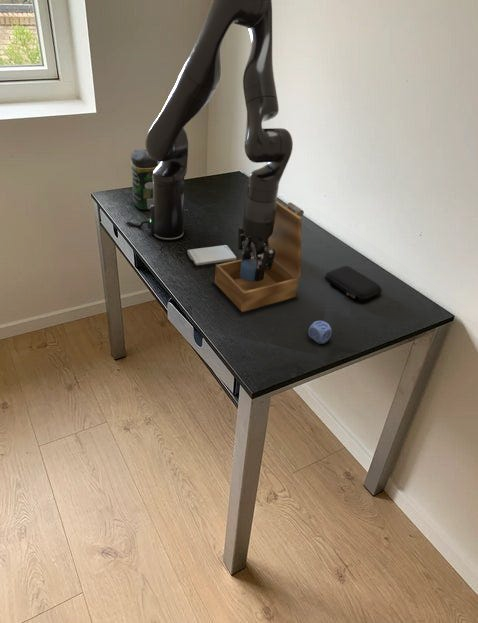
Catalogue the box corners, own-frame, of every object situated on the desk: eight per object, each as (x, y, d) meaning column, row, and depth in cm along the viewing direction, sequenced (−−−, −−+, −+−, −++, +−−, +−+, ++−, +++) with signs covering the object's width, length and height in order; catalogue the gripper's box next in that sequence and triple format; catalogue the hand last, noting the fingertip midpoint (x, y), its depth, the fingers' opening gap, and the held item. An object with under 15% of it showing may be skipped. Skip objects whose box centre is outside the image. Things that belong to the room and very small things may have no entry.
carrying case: (318, 280, 137) (357, 306, 128) (320, 271, 135) (360, 297, 126) (344, 271, 142) (383, 295, 133) (346, 262, 141) (386, 286, 132)
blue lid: (237, 278, 124) (238, 267, 122) (243, 267, 129) (244, 256, 126) (259, 284, 123) (261, 272, 121) (264, 272, 128) (266, 261, 126)
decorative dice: (317, 331, 118) (320, 318, 115) (330, 340, 115) (333, 326, 113) (306, 337, 115) (309, 324, 113) (319, 346, 113) (322, 332, 111)
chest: (241, 314, 121) (244, 293, 117) (214, 285, 131) (215, 264, 127) (295, 299, 128) (298, 279, 125) (265, 272, 138) (268, 253, 134)
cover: (298, 218, 113) (316, 212, 115) (265, 195, 123) (281, 189, 124) (297, 278, 124) (313, 271, 126) (267, 252, 134) (281, 246, 136)
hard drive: (226, 244, 147) (187, 248, 142) (236, 257, 141) (196, 262, 136) (226, 249, 147) (187, 253, 143) (236, 262, 142) (196, 267, 137)
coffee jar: (130, 201, 170) (127, 148, 159) (151, 198, 173) (150, 146, 162) (139, 212, 163) (137, 158, 152) (161, 209, 166) (160, 156, 155)
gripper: (231, 204, 119) (226, 263, 129) (262, 229, 109) (254, 291, 119) (257, 200, 122) (250, 258, 132) (289, 224, 112) (279, 285, 122)
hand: (252, 273), depth 125 cm, fingers closed on blue lid, 6 cm apart
